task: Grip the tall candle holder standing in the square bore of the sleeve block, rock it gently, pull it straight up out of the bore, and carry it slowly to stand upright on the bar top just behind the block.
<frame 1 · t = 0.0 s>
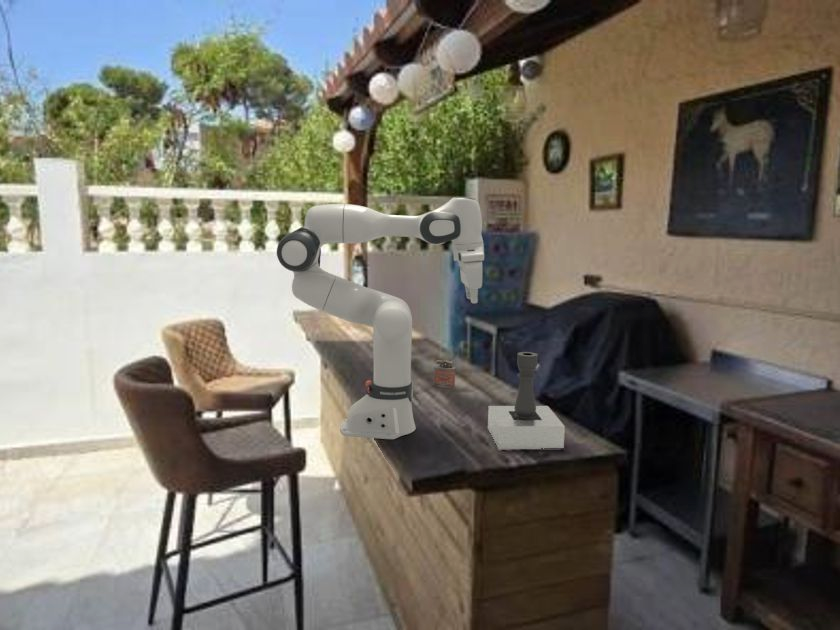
hand: (472, 300, 175), 39 cm above the table, tool pointing down, fingers open, 8 cm apart
sleeve block: (523, 438, 173), on the table
candle holder: (523, 439, 173), resting in sleeve block
lighter: (444, 387, 226), on the table
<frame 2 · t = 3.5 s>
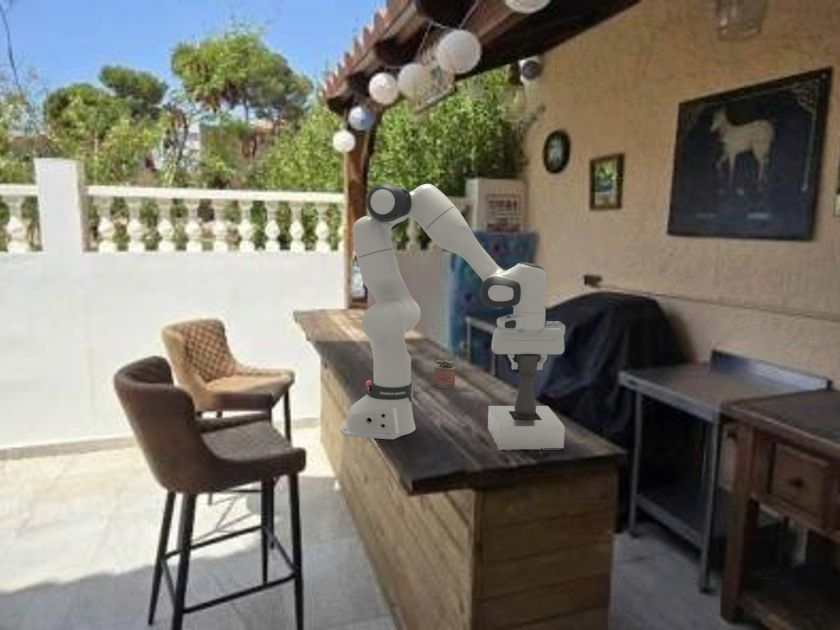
hand: (526, 369, 169), 21 cm above the table, tool pointing down, fingers closed on candle holder, 6 cm apart
candle holder: (523, 439, 173), resting in sleeve block, touching gripper
everything else where it was.
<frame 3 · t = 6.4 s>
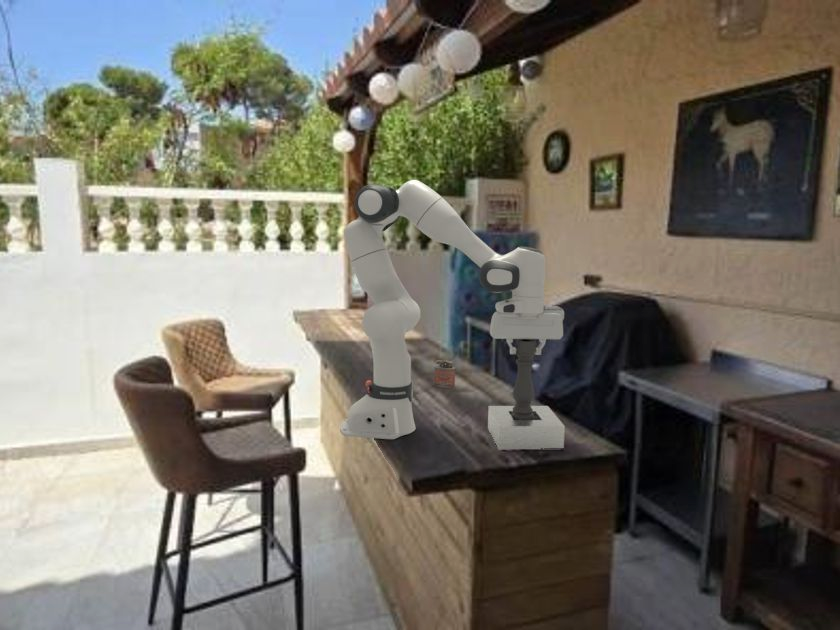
hand: (525, 354, 169), 25 cm above the table, tool pointing down, fingers closed on candle holder, 6 cm apart
candle holder: (521, 426, 172), point 4 cm above the table, touching gripper
everything else where it was.
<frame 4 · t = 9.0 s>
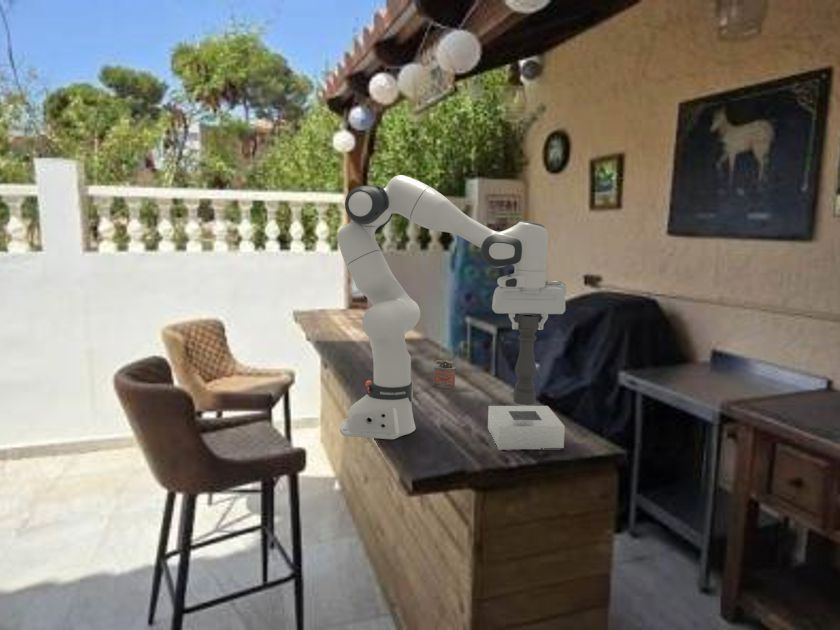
hand: (527, 329, 169), 32 cm above the table, tool pointing down, fingers closed on candle holder, 6 cm apart
candle holder: (524, 402, 172), point 11 cm above the table, touching gripper
everything else where it was.
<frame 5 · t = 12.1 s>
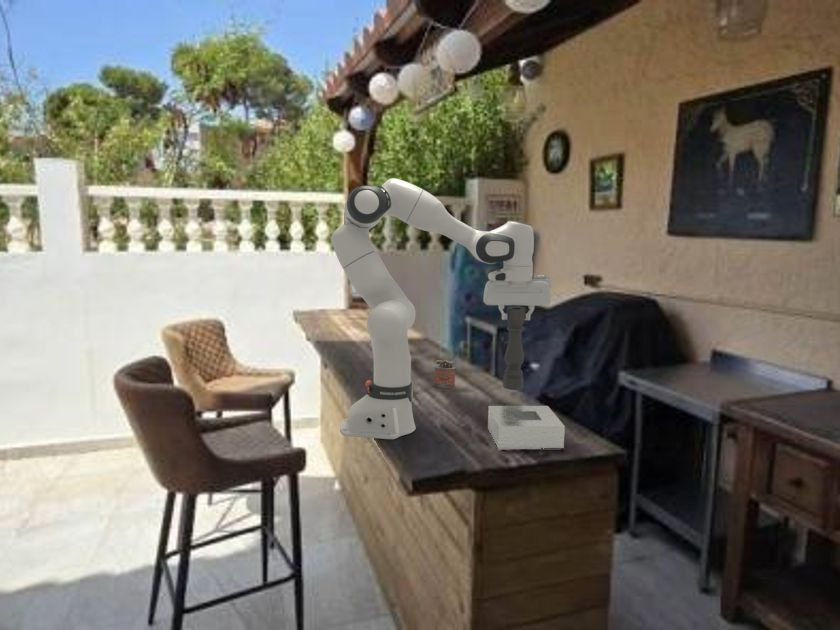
hand: (515, 319, 184), 32 cm above the table, tool pointing down, fingers closed on candle holder, 6 cm apart
candle holder: (513, 387, 188), point 10 cm above the table, touching gripper
everything else where it was.
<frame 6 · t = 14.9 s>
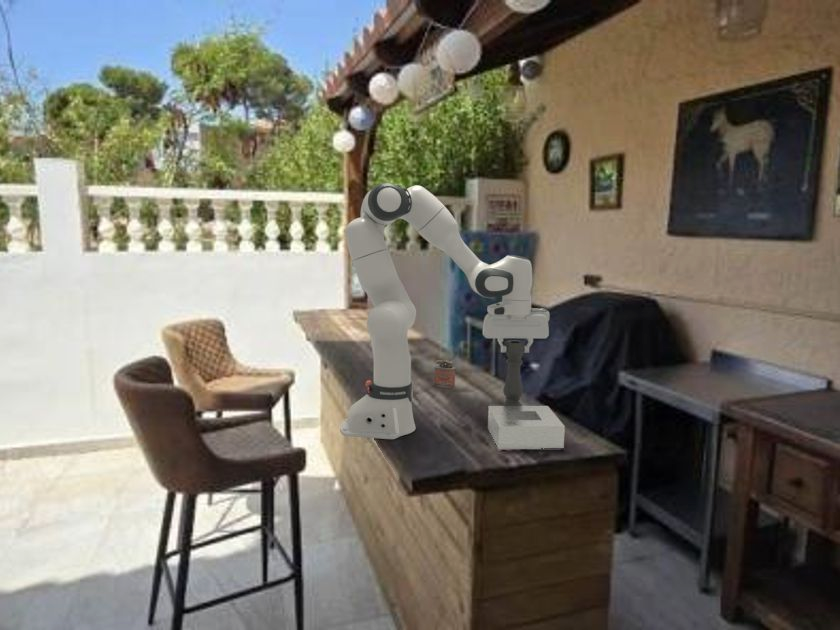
hand: (514, 352, 186), 22 cm above the table, tool pointing down, fingers closed on candle holder, 6 cm apart
candle holder: (511, 420, 189), on the table, touching gripper
everything else where it was.
when the fingers open (22 cm above the table, at t = 15.4 s): candle holder stays where it is, on the table.
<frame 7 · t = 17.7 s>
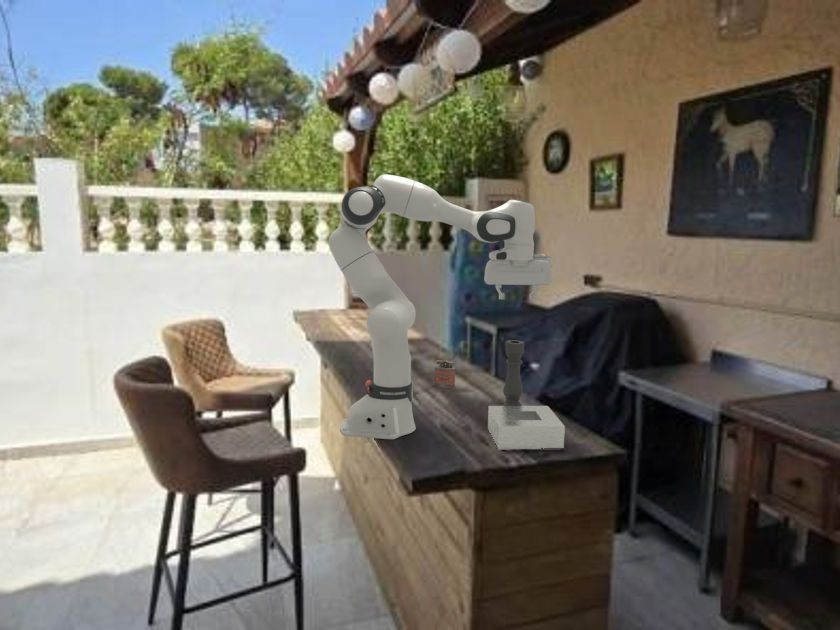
hand: (516, 299, 183), 38 cm above the table, tool pointing down, fingers open, 8 cm apart
candle holder: (511, 420, 189), on the table
everything else where it was.
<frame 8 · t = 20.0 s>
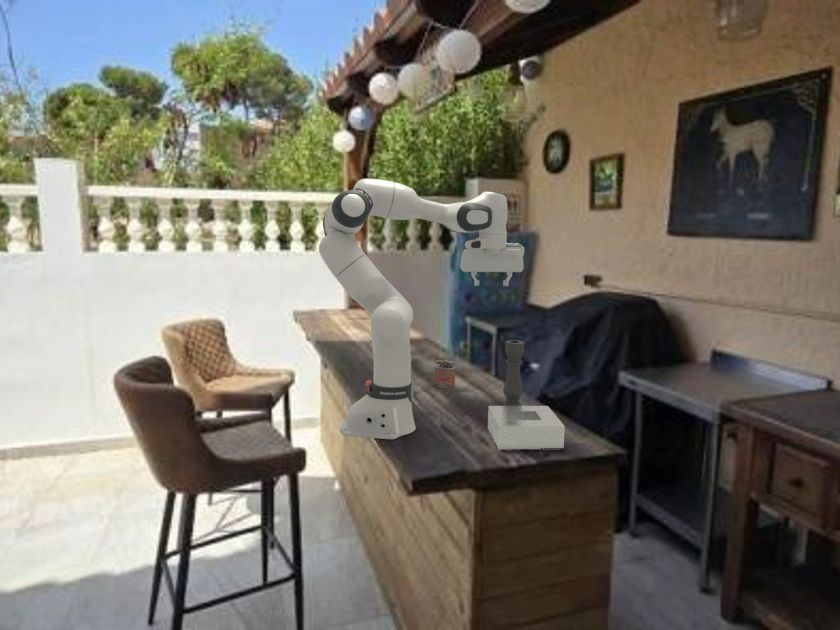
hand: (491, 285, 194), 41 cm above the table, tool pointing down, fingers open, 8 cm apart
nothing on the table moved.
at the end: candle holder inside the target area (0.1 cm from its centre), on the table; candle holder tilted 0°; the gripper is holding nothing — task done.
